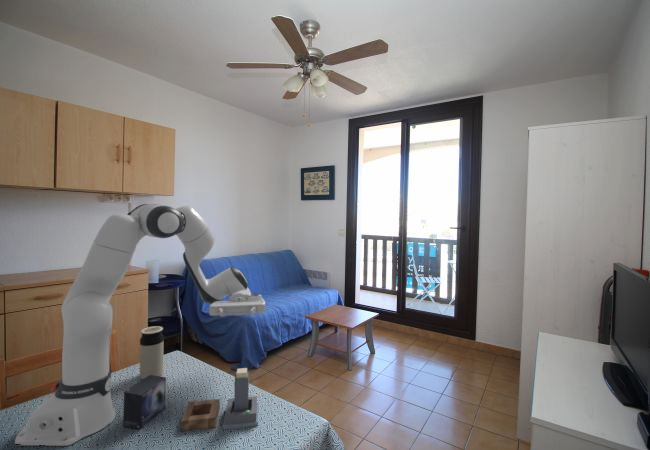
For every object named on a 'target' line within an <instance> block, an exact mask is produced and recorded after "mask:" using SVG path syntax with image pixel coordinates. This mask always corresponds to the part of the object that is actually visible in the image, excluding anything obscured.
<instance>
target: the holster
mask: <svg viewBox="0 0 650 450" xmlns="http://www.w3.org/2000/svg"><path fill="white" fill-rule="evenodd" d="M220 400H221V399H219V398H218V399H216V398H215V399H208V400H198V401H197V400H196V401H189V402H188V403H187V406H186V407H185V410H184V413H183V415H182V417H181V421H180V432H188V431H198V430H205V429H214V428H216V425H217V422H218V417H219V412H220V409H221V408H220V405H221V403H220Z"/></svg>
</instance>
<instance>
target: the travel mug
mask: <svg viewBox="0 0 650 450" xmlns="http://www.w3.org/2000/svg"><path fill="white" fill-rule="evenodd" d="M163 330H164V327H163V326H160V325H159V326H158V325H157V326H156V325H155V326H153V325H152V326H148V327H145V328H143V329H141V331H140V333H141V337H140V339H139V378H140V380H143V379H144V378H146V377H148V376H149V375H154V376H161V377H162V375H163V374H164V342H165V341H164V339H165V338H164V334H163Z"/></svg>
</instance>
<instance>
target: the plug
mask: <svg viewBox="0 0 650 450" xmlns="http://www.w3.org/2000/svg"><path fill="white" fill-rule="evenodd" d="M249 377H250V372H249V371H248V367H243V368H237V370H236V372H235V376H234V394H233V395H234V397H233V398H234V412H243V411H247V410H248V400H249V397H250V396H249V393H250V392H249V386H250V385H249V384H250V383H249V381H250V378H249Z"/></svg>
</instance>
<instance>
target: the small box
mask: <svg viewBox="0 0 650 450" xmlns="http://www.w3.org/2000/svg"><path fill="white" fill-rule="evenodd" d="M166 381H167V377H166V376H162V375H161V376H154V375H149V376H148V377H146V378H144V379H140V381H138V382H137V383H135V384H134V385H132V386H131V387H128V388H127V389H126V390H124V391H123V419H122V427H124V428H125V427H126V428H130V429H131V428H132V429H135V430H141V429H142V428H144V427H145V426H146V425H147V424H149V422H151V421H152V420H153V419H154V418H156V417H157V416H158V415H159V414H161V413H162V412H163V411H164V410H165V409H166V396H167V395H166V394H167V393H166V391H167V390H166V389H167V388H166V387H167V382H166Z"/></svg>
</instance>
